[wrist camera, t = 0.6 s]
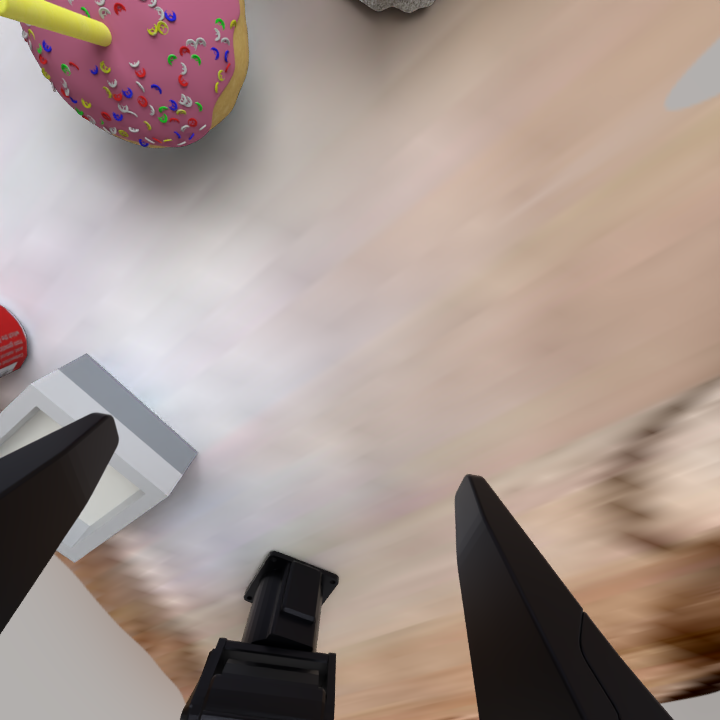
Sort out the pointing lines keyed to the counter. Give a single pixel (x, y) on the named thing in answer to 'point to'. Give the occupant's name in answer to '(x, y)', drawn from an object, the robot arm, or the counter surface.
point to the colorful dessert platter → (398, 4)
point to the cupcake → (140, 62)
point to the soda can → (11, 342)
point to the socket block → (129, 462)
